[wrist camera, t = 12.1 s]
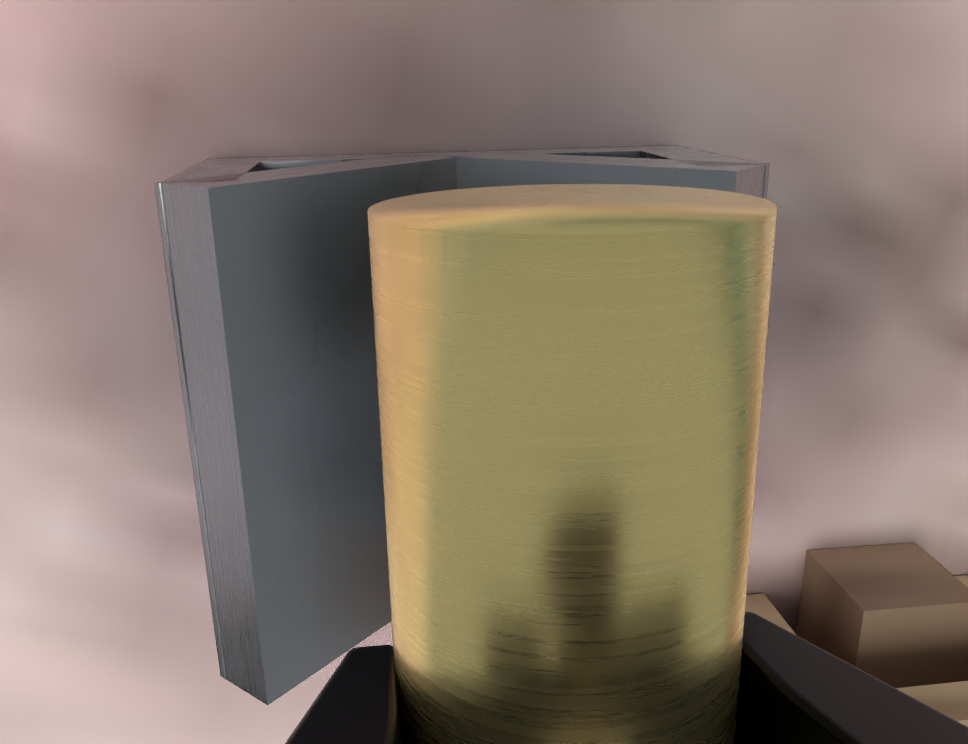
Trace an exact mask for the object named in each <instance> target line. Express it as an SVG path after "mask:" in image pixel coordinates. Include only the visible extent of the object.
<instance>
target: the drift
mask: <svg viewBox="0 0 968 744" xmlns="http://www.w3.org/2000/svg"><path fill="white" fill-rule="evenodd" d="M796 635H797V636H799V637H800V638H802V639H804V640H806V641H808V642H810V643H812V644H814V645H815V646H817V647H819V648H821V649H823V650H825V651H827V652H829V653H830V654H832V655H834V656H836V657H838V658H840V659H842V660H844V661H845V662H847V663H849V664H851V665H853V666H855V667H857V668H859V669H860V670H862V671H864V672H866V673H868V674H870V675H872V676H874V677H875V678H877V679H879V680H881V681H883V682H885V683H887V684H889V685H890V686H892V687H894V688H904V687H913V686H923V685H933V684H942V683H952V682H961V681H968V587H966V586H965V585H964V584H963V583H962V582H961V581H959V580H958V579H957V578H956V577H955V576H953V575H952V574H951V573H950V572H949V571H948V570H946V569H945V568H944V567H943V566H942V565H941V564H939V563H938V562H937V561H936V560H935V559H933V558H932V557H931V556H930V555H929V554H928V553H926V552H925V551H924V550H923V549H922V548H920V547H919V546H918V545H917V544H916V543H915V542H909V543H896V544H882V545H868V546H855V547H841V548H827V549H813V550H807V552H806V560H805V569H804V577H803V585H802V593H801V601H800V609H799V617H798V625H797V633H796Z"/></svg>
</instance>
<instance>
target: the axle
mask: <svg viewBox="0 0 968 744" xmlns="http://www.w3.org/2000/svg"><path fill="white" fill-rule="evenodd" d="M367 212H368V229H369V246H370V263H371V280H372V297H373V314H374V331H375V348H376V365H377V382H378V399H379V416H380V433H381V450H382V467H383V484H384V501H385V518H386V535H387V552H388V569H389V586H390V603H391V620H392V637H393V654H394V665H395V670H396V676H397V684H398V700H399V717H400V734H401V744H734V741H735V729H736V716H737V704H738V691H739V679H740V666H741V654H742V641H743V629H744V616H745V604H746V591H747V579H748V566H749V554H750V541H751V529H752V516H753V504H754V491H755V479H756V466H757V454H758V441H759V429H760V416H761V404H762V391H763V379H764V366H765V354H766V341H767V329H768V316H769V304H770V291H771V278H772V266H773V253H774V241H775V228H776V216H777V205H776V204H775V203H774V202H771V201H769V200H767V199H764V198H760V197H757V196H752V195H747V194H742V193H735V192H728V191H720V190H712V189H701V188H689V187H675V186H657V185H629V184H543V185H515V186H495V187H480V188H466V189H455V190H445V191H436V192H428V193H421V194H414V195H408V196H402V197H398V198H393V199H389V200H385V201H382V202H379V203H376V204H374V205H372V206H371V207H369V209H368V211H367Z"/></svg>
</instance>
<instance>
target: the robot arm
mask: <svg viewBox="0 0 968 744" xmlns="http://www.w3.org/2000/svg"><path fill="white" fill-rule="evenodd" d="M285 744H401V734H400V717H399V700H398V684H397V676H396V670H395V665H394V654H393V646H391V645H380V646H369V647H358V648H353V649H352V650H350V651H349V652H348V653H347V655H346V656H345V658H344V659H343V661H342V662H341V664H340V665H339V666H338V668H337V669H336V671H335V672H334V674H333V675H332V677H331V678H330V679H329V681H328V682H327V684H326V685H325V687H324V688H323V690H322V691H321V693H320V694H319V695H318V697H317V698H316V700H315V701H314V703H313V704H312V706H311V707H310V708H309V710H308V711H307V713H306V714H305V716H304V717H303V719H302V720H301V721H300V723H299V724H298V726H297V727H296V729H295V730H294V732H293V733H292V734H291V736H290V737H289V739H288V740H287V742H286V743H285ZM734 744H968V727H967V726H966V725H964V724H962V723H960V722H958V721H956V720H954V719H952V718H951V717H949V716H947V715H945V714H943V713H941V712H939V711H937V710H936V709H934V708H932V707H930V706H928V705H926V704H924V703H922V702H920V701H919V700H917V699H915V698H913V697H911V696H909V695H907V694H905V693H904V692H902V691H900V690H898V689H896V688H894V687H892V686H890V685H889V684H887V683H885V682H883V681H881V680H879V679H877V678H875V677H874V676H872V675H870V674H868V673H866V672H864V671H862V670H860V669H859V668H857V667H855V666H853V665H851V664H849V663H847V662H845V661H844V660H842V659H840V658H838V657H836V656H834V655H832V654H830V653H829V652H827V651H825V650H823V649H821V648H819V647H817V646H815V645H814V644H812V643H810V642H808V641H806V640H804V639H802V638H800V637H799V636H797V635H795V634H793V633H791V632H789V631H787V630H785V629H784V628H782V627H780V626H778V625H776V624H774V623H772V622H770V621H769V620H767V619H765V618H763V617H761V616H759V615H757V614H755V613H753V612H745V616H744V629H743V641H742V654H741V666H740V679H739V691H738V704H737V716H736V729H735V741H734Z"/></svg>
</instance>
